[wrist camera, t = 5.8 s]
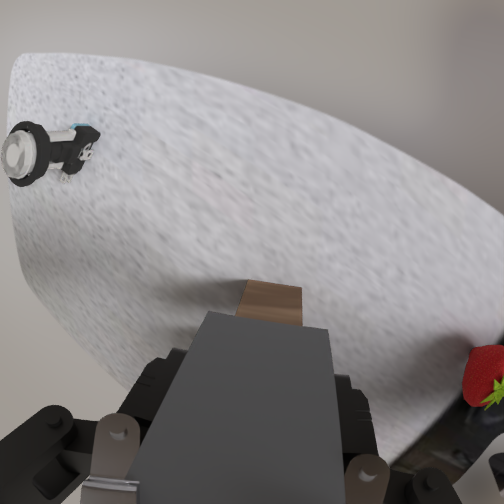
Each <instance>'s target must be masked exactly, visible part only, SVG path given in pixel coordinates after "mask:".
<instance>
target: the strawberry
mask: <svg viewBox="0 0 504 504" xmlns="http://www.w3.org/2000/svg"><path fill="white" fill-rule="evenodd" d="M462 388H463V397H464V399H465V400H466V401H467V402H468V404H469V405H471V406H484V405H486V404H488V405H487V407H486V408H485V410H486V409H487V408H488V407H489V406H491V405H492V404H493V403H494V402H495V401H496V402H497V404H499V402H500V400H501V398H502V397H503V396H504V346H502V345H486V346H481V347H475V348H473V349H472V350H471V352H470V354H469V359H468V362H467V364H466V368H465V372H464V377H463V381H462Z"/></svg>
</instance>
